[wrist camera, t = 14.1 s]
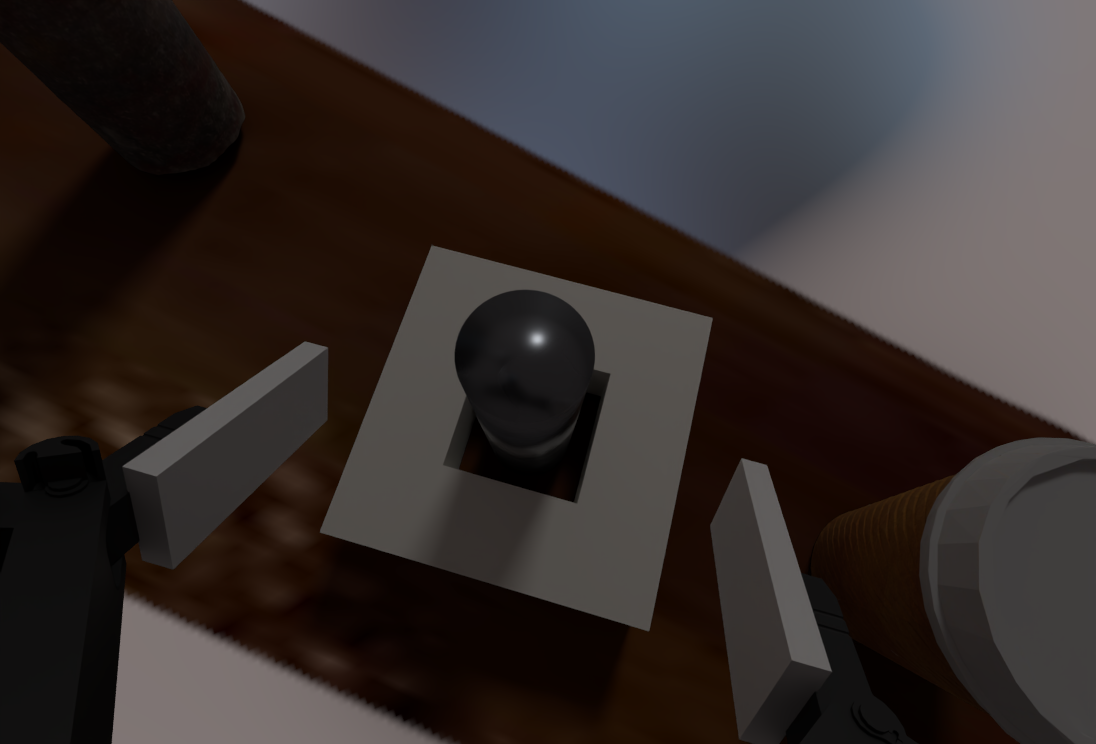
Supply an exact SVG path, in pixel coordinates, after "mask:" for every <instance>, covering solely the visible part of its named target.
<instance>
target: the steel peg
mask: <svg viewBox="0 0 1096 744" xmlns="http://www.w3.org/2000/svg"><path fill="white" fill-rule="evenodd" d="M594 364H595V347H594V342H593V338H592V335H591V332H590V330H589V328H588V326H587V324H586V322H585V321H584V319H583V318H582V317H581V315H580V314H579V313H578V312H577V311H576V310H575V309H574V308H573V307H572V306H571V305H569V304H568V303H567V302H565V301H564V300H562V299H560V298H558V297H556V296H554V295H552V294H549V293H546V292H542V291H537V290H514V291H508V292H505V293H501V294H499V295H496V296H494V297H492V298H490V299H488V300H487V301H485V302H484V303H482V304H481V305H480V306H478V307H477V308H476V309H475V310H474V311H473V312H472V313H471V314H470V315H469V317H468V318H467V319H466V321H465V322H464V324H463V326H462V327H461V330H460V332H459V334H458V337H457V341H456V345H455V367H456V372H457V375H458V379H459V381H460V383H461V385H462V387H463V390H464V392H465V394H466V396H467V398H468V400H469V402H470V404H471V406H472V408H473V410H474V412H475V414H476V416H477V418H478V421H479V423H480V425H481V427H482V429H483V431H484V433H485V435H486V437H487V439H488V441H489V443H490V445H491V447H492V449H493V452H494V454H495V456H496V457H497V459H498V461H499V462H500V463H501V464H502V465H503V466H504V467H505V468H506V469H508V470H509V471H511V472H513V473H515V474H518V475H521V476H528V477H531V476H539V475H542V474H545V473H547V472H549V471H551V470H552V469H554V468H555V467H556V466H557V465H558V464H559V463H560V462H561V461H562V459H563V458H564V456H565V454H566V452H567V449H568V446H569V443H570V440H571V437H572V434H573V431H574V428H575V425H576V422H577V419H578V416H579V413H580V410H581V407H582V404H583V401H584V398H585V395H586V392H587V389H588V385H589V382H590V379H591V376H592V373H593V369H594Z"/></svg>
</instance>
